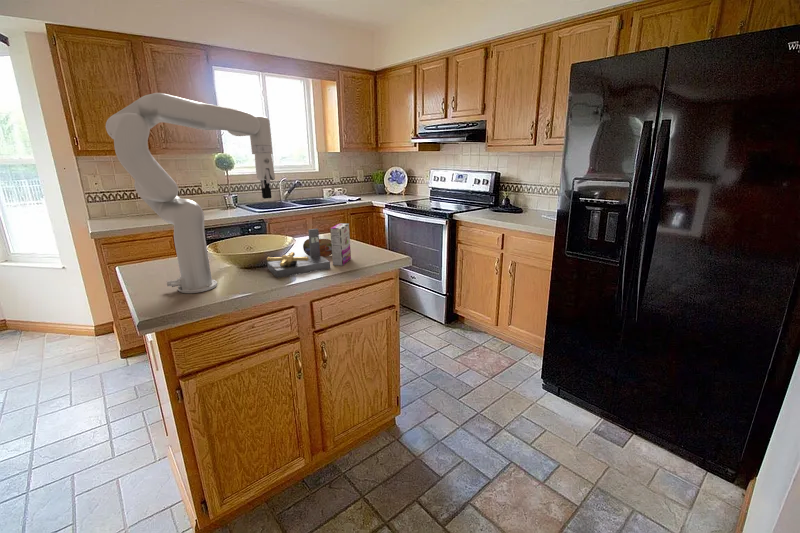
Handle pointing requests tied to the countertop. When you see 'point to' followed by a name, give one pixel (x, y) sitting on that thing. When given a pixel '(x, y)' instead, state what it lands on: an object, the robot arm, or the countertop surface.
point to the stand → (301, 267)
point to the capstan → (287, 259)
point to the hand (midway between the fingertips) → (267, 198)
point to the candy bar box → (340, 244)
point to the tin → (324, 247)
